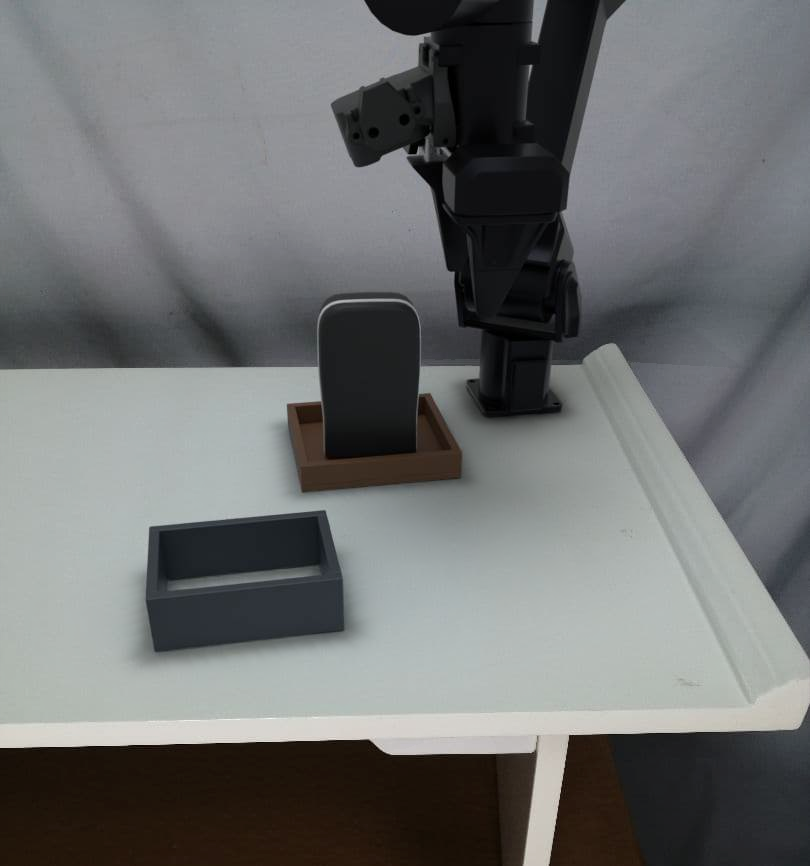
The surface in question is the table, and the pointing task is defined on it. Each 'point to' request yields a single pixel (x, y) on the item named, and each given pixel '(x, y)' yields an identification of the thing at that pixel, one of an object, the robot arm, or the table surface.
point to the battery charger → (369, 374)
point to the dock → (246, 602)
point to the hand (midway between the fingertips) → (469, 292)
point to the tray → (429, 462)
